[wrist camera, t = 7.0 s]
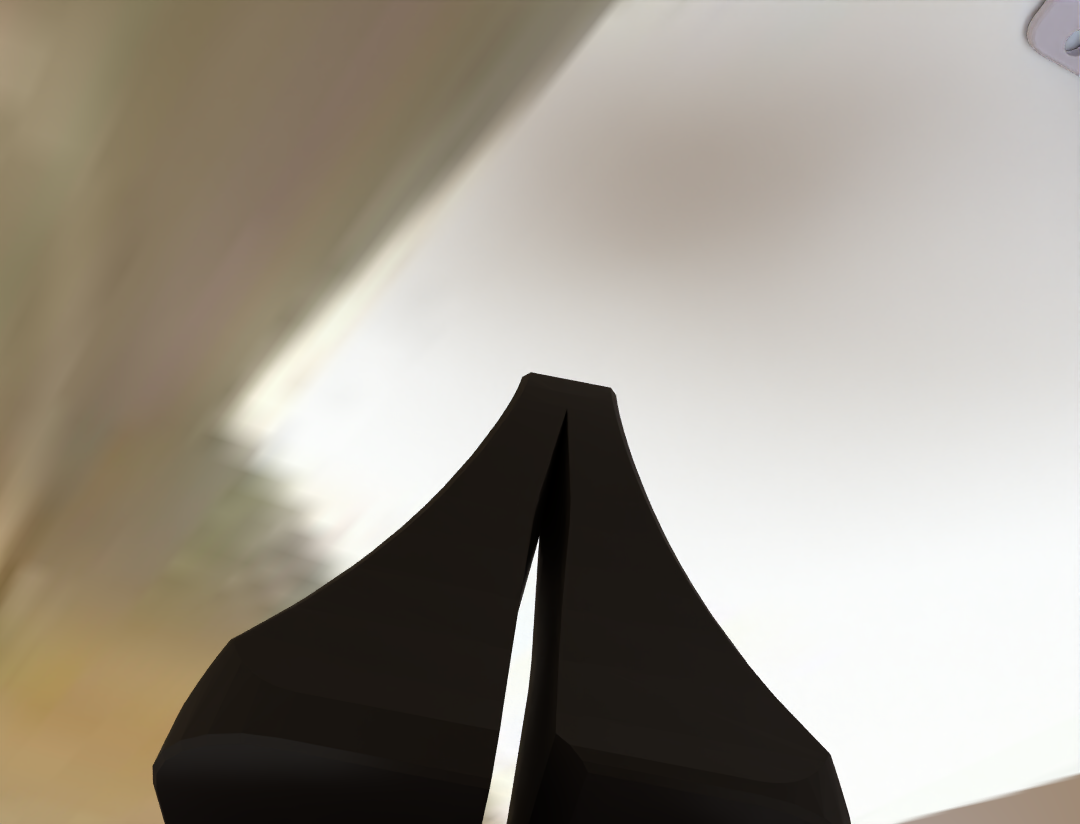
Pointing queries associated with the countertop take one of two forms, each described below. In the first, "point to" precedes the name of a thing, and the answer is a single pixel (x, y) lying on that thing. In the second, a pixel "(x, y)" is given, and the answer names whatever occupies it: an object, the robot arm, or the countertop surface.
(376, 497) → the countertop surface
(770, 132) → the countertop surface
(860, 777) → the countertop surface
